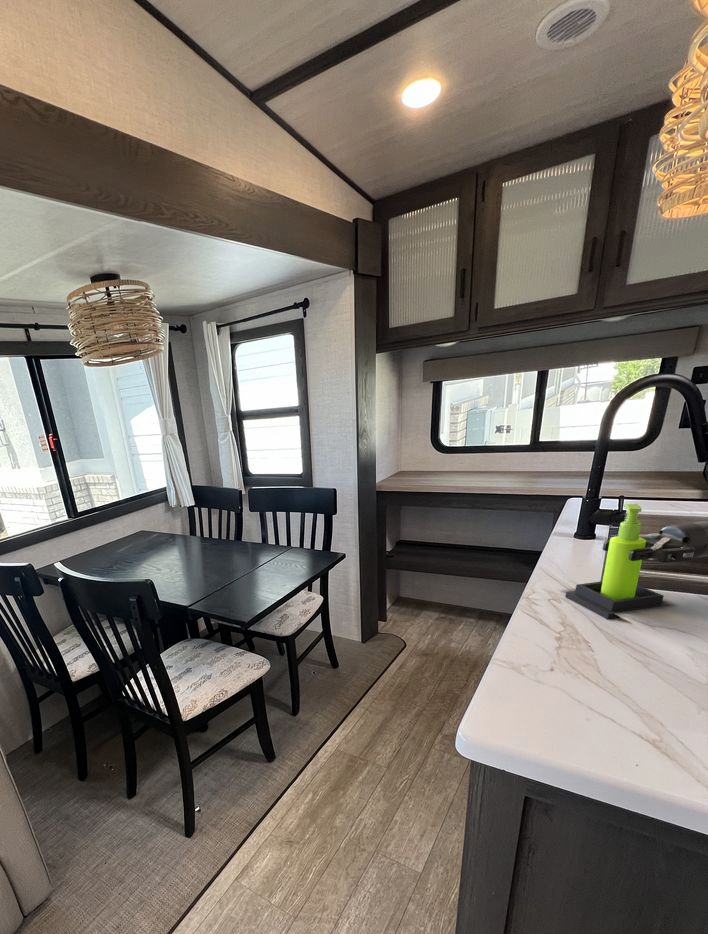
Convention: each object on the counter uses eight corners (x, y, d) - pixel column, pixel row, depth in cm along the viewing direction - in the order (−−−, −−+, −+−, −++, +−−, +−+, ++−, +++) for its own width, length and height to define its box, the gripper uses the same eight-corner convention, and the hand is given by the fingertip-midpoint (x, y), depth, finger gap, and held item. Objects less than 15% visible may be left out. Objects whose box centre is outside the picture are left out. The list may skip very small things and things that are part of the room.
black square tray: (621, 589, 108) (624, 576, 106) (669, 610, 97) (674, 596, 95) (565, 596, 106) (567, 583, 105) (607, 619, 95) (610, 605, 94)
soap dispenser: (629, 591, 103) (647, 501, 95) (636, 604, 97) (657, 509, 89) (596, 590, 105) (612, 502, 98) (602, 602, 100) (619, 510, 92)
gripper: (664, 515, 103) (593, 524, 101) (733, 532, 90) (652, 543, 88) (655, 547, 106) (586, 557, 104) (721, 568, 93) (643, 579, 91)
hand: (617, 550), depth 96 cm, fingers closed on soap dispenser, 6 cm apart
